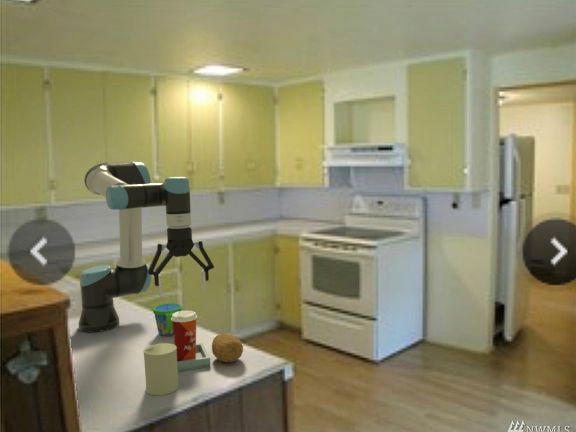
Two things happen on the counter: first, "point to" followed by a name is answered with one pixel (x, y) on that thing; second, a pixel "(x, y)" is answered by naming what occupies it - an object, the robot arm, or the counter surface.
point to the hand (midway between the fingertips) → (182, 293)
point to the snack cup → (165, 317)
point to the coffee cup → (185, 334)
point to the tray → (195, 360)
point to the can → (161, 369)
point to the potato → (227, 347)
